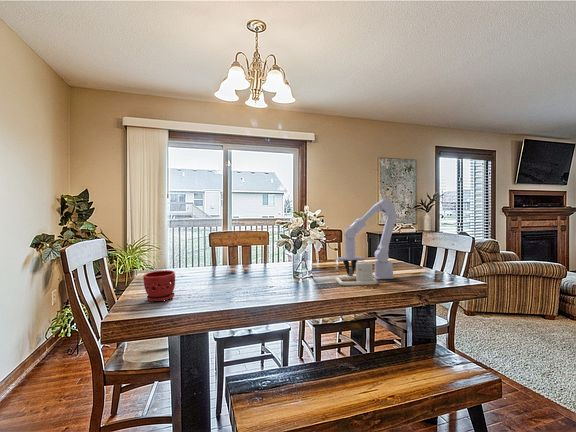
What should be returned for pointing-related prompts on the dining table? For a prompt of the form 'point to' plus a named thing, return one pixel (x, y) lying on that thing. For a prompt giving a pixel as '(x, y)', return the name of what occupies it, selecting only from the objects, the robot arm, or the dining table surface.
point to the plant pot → (159, 285)
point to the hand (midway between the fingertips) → (350, 273)
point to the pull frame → (350, 276)
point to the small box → (364, 271)
